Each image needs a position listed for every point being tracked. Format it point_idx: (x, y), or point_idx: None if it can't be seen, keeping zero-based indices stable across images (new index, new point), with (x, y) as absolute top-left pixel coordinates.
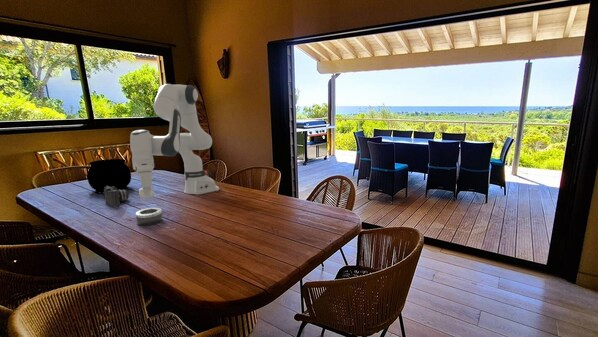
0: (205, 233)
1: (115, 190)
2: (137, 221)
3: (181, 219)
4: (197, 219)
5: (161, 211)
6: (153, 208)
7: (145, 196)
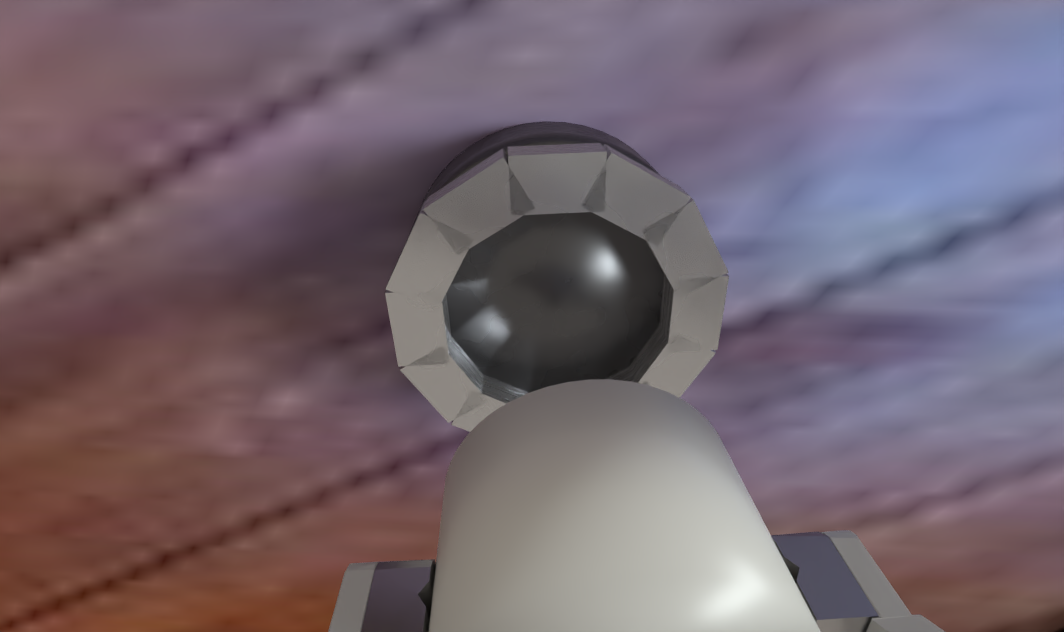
0: (55, 599)
1: None
2: (497, 141)
3: None
4: None
5: None
6: (657, 376)
7: (442, 516)
